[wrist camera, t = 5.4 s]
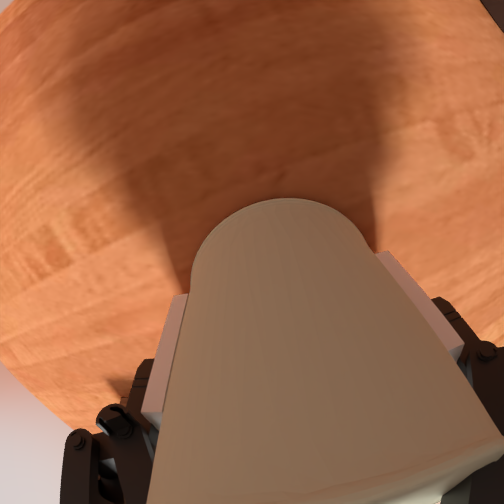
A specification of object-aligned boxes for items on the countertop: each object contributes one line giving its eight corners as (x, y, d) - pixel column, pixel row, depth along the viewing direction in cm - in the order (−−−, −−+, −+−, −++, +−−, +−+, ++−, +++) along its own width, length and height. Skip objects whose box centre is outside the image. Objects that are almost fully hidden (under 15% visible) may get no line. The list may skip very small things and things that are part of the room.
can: (156, 247, 13) (45, 513, 3) (342, 165, 12) (594, 378, 1) (240, 368, 17) (245, 560, 6) (382, 315, 16) (471, 496, 5)
